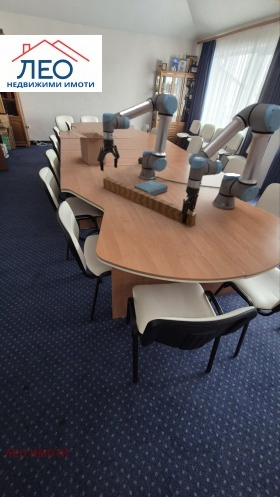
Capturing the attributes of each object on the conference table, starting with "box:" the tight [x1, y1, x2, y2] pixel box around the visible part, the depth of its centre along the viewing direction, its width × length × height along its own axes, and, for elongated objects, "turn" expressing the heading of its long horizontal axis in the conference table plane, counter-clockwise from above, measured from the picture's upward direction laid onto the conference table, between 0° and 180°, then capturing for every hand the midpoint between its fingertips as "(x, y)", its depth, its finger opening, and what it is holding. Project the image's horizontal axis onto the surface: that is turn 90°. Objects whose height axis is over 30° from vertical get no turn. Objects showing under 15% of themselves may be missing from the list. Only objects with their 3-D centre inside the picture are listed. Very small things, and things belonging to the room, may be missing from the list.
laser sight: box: [137, 156, 143, 165], centre depth 237 cm, size 10×22×10 cm, turn 78°
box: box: [70, 129, 107, 166], centre depth 229 cm, size 44×36×27 cm
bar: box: [102, 176, 198, 228], centre depth 157 cm, size 83×4×8 cm, turn 48°
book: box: [133, 179, 169, 196], centre depth 177 cm, size 23×16×5 cm
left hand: (109, 169), depth 169 cm, fingers open, 13 cm apart
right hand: (185, 221), depth 140 cm, fingers closed on bar, 5 cm apart
